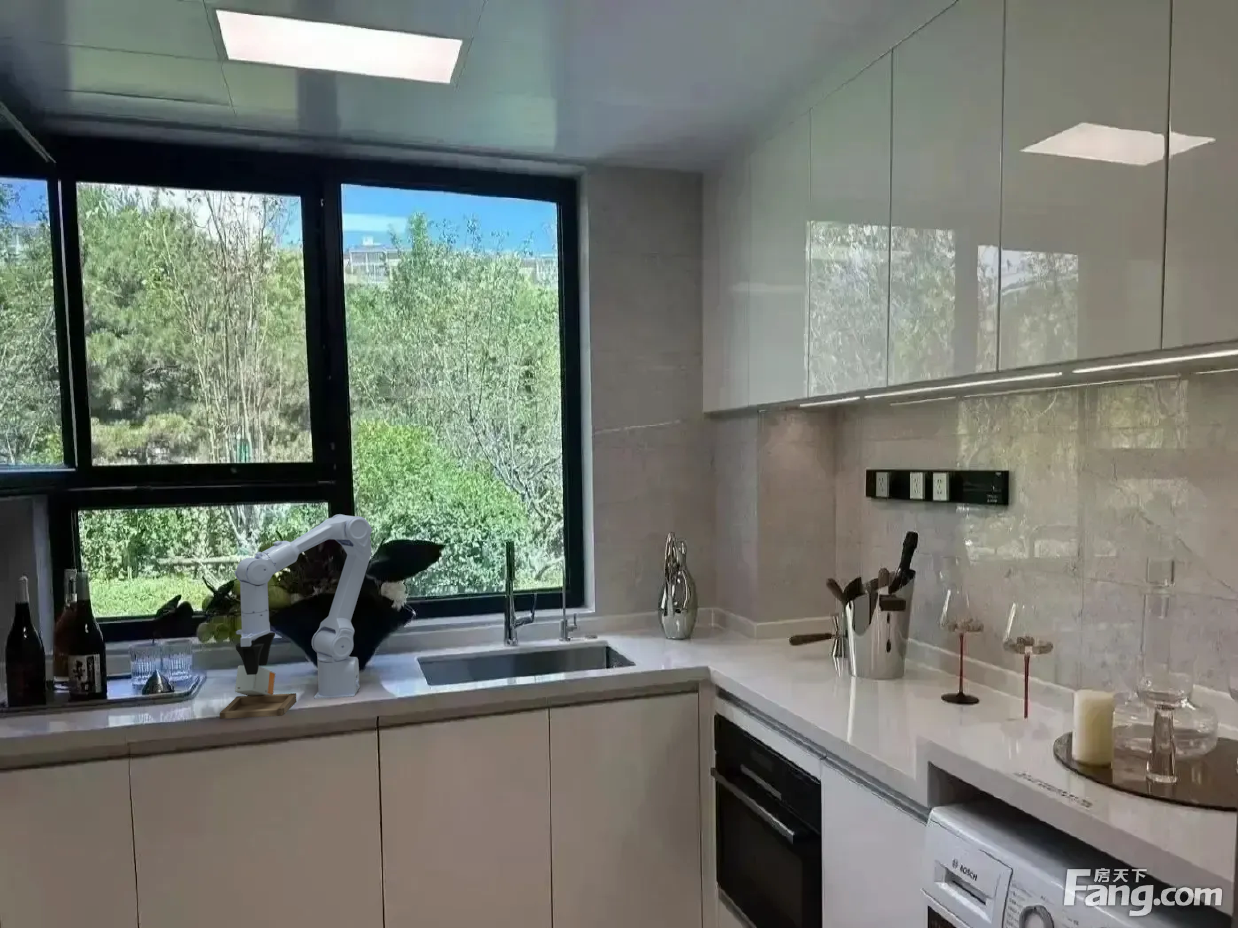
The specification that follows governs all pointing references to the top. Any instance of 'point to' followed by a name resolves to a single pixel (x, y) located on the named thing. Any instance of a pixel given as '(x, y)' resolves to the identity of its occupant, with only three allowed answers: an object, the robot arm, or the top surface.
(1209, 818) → the top surface
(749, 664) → the top surface
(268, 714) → the tray
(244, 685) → the skincare box
